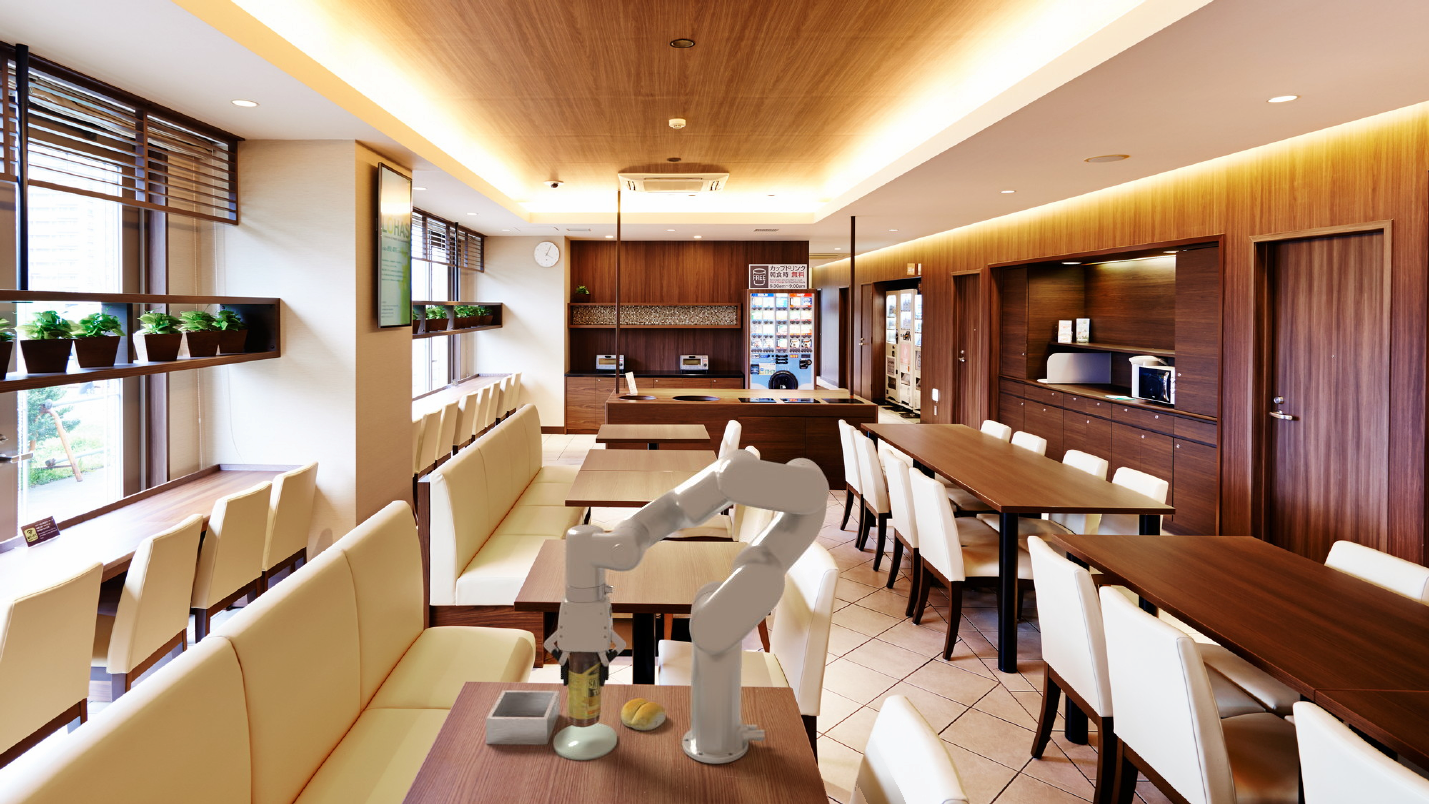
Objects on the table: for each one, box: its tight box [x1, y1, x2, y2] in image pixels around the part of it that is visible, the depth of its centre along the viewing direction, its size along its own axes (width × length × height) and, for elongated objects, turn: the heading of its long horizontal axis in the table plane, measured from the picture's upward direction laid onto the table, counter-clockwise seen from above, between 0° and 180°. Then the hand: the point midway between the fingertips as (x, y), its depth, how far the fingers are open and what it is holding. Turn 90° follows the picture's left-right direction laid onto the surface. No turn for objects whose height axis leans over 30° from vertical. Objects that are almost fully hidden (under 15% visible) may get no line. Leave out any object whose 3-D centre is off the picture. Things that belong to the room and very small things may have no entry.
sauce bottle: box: [567, 651, 602, 727], centre depth 141 cm, size 7×6×20 cm
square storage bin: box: [485, 689, 560, 745], centre depth 147 cm, size 12×12×5 cm
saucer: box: [553, 722, 618, 761], centre depth 142 cm, size 12×12×1 cm
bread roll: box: [620, 697, 666, 731], centre depth 151 cm, size 8×9×4 cm
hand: (584, 682), depth 141 cm, fingers closed on sauce bottle, 6 cm apart
